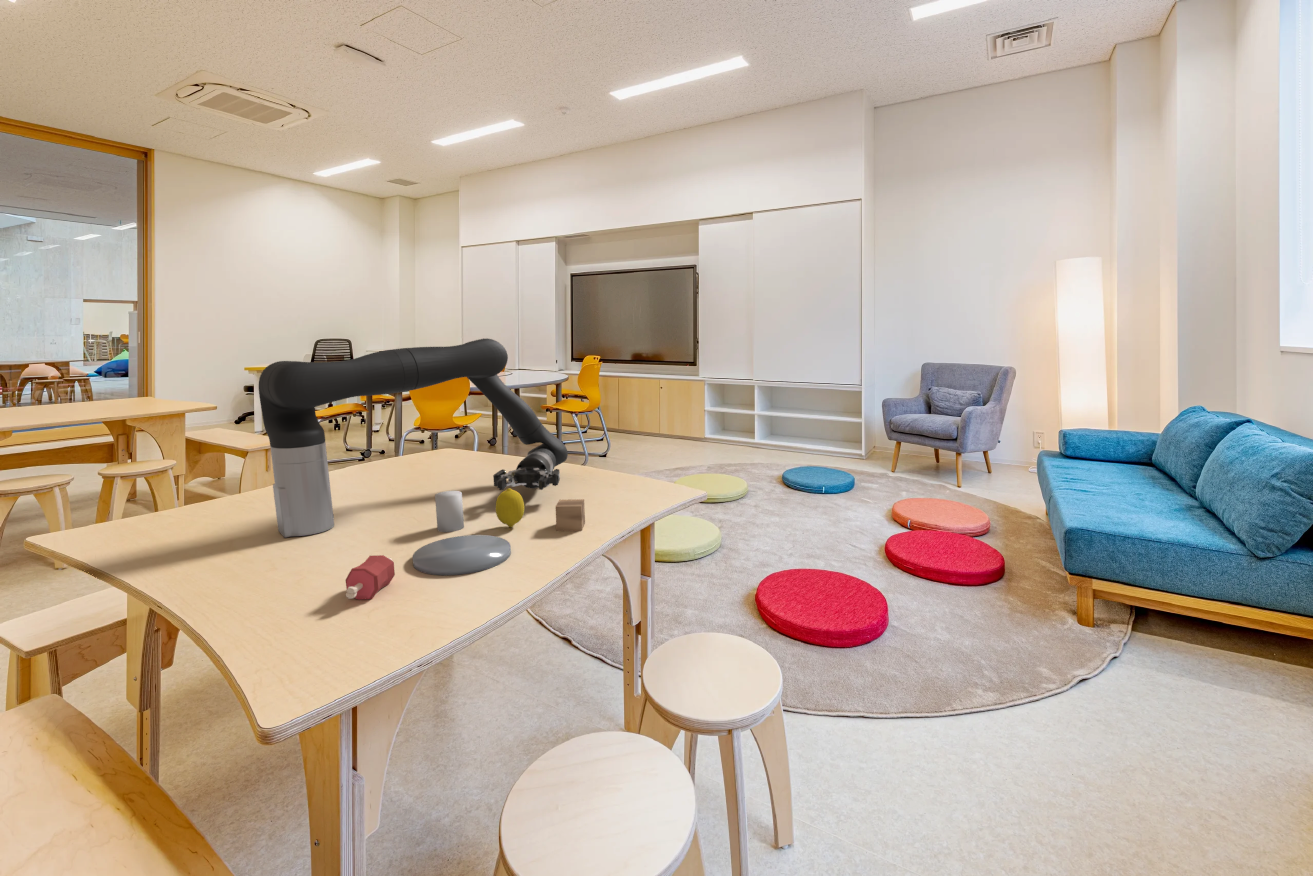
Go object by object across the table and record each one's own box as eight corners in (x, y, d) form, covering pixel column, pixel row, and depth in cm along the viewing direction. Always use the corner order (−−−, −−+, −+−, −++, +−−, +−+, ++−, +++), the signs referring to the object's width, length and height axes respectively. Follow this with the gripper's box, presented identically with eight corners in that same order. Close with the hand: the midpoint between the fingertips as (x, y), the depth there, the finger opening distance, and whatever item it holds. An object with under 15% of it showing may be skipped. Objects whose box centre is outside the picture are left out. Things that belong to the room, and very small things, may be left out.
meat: (371, 571, 94) (377, 543, 93) (401, 579, 94) (408, 551, 93) (328, 605, 82) (335, 573, 81) (363, 614, 82) (369, 582, 81)
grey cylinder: (443, 533, 114) (441, 498, 113) (433, 528, 118) (430, 493, 116) (468, 528, 117) (466, 494, 116) (457, 522, 121) (455, 489, 120)
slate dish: (435, 583, 90) (435, 576, 90) (399, 556, 102) (398, 549, 102) (528, 557, 101) (527, 550, 101) (485, 535, 113) (484, 529, 113)
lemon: (528, 523, 120) (527, 485, 119) (519, 532, 114) (517, 492, 113) (502, 522, 120) (500, 484, 119) (492, 531, 115) (490, 491, 114)
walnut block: (560, 523, 120) (559, 499, 119) (585, 523, 120) (584, 499, 119) (556, 531, 115) (555, 506, 114) (582, 531, 115) (581, 506, 114)
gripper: (505, 454, 142) (486, 468, 126) (564, 453, 142) (553, 468, 126) (506, 484, 143) (488, 502, 127) (565, 483, 143) (554, 502, 127)
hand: (520, 485), depth 127 cm, fingers open, 8 cm apart
